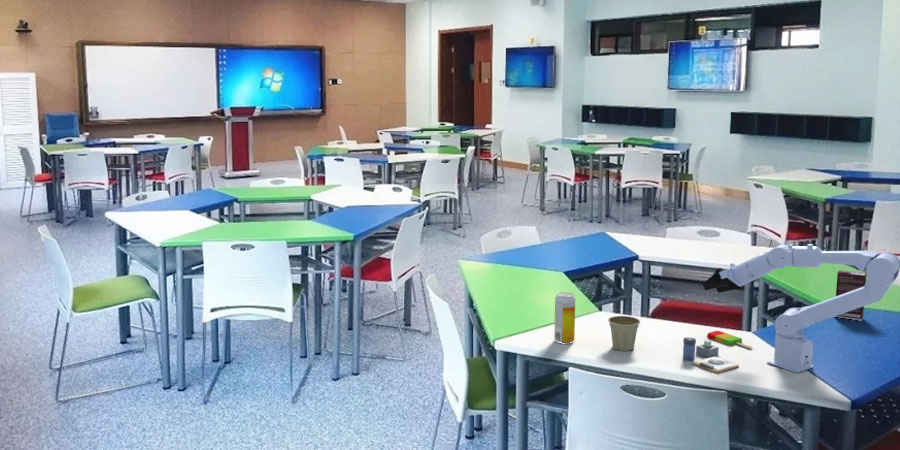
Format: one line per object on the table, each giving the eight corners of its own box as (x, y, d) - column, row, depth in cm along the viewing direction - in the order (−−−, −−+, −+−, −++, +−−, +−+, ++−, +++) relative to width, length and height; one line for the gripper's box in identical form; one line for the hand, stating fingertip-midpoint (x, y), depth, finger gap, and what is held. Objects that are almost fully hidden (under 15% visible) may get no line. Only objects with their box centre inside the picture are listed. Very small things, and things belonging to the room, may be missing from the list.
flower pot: (600, 345, 234) (601, 317, 232) (626, 341, 237) (627, 314, 236) (619, 354, 225) (620, 326, 224) (645, 350, 229) (646, 322, 227)
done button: (712, 348, 225) (712, 341, 224) (707, 349, 224) (708, 342, 223) (706, 346, 226) (707, 339, 226) (702, 347, 225) (702, 340, 225)
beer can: (578, 341, 237) (579, 294, 234) (566, 346, 233) (568, 298, 230) (561, 337, 241) (562, 290, 238) (550, 341, 237) (551, 294, 234)
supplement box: (863, 318, 260) (867, 272, 257) (861, 322, 256) (866, 275, 253) (834, 314, 264) (838, 269, 261) (833, 317, 260) (837, 272, 257)
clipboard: (738, 367, 215) (738, 363, 215) (717, 373, 210) (718, 369, 210) (713, 358, 222) (713, 354, 222) (692, 364, 217) (692, 360, 217)
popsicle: (717, 335, 243) (717, 329, 243) (757, 349, 231) (758, 343, 230) (705, 338, 241) (705, 332, 240) (745, 352, 228) (745, 346, 228)
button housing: (718, 355, 225) (718, 347, 224) (708, 357, 222) (708, 350, 222) (705, 350, 228) (706, 343, 228) (695, 353, 226) (696, 345, 226)
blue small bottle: (697, 359, 221) (698, 339, 220) (689, 362, 219) (690, 342, 218) (687, 356, 224) (688, 336, 223) (679, 358, 222) (681, 338, 221)
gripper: (758, 260, 226) (718, 278, 234) (734, 253, 216) (693, 273, 224) (767, 282, 223) (726, 299, 231) (743, 276, 213) (701, 295, 221)
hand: (710, 288), depth 227 cm, fingers open, 7 cm apart
